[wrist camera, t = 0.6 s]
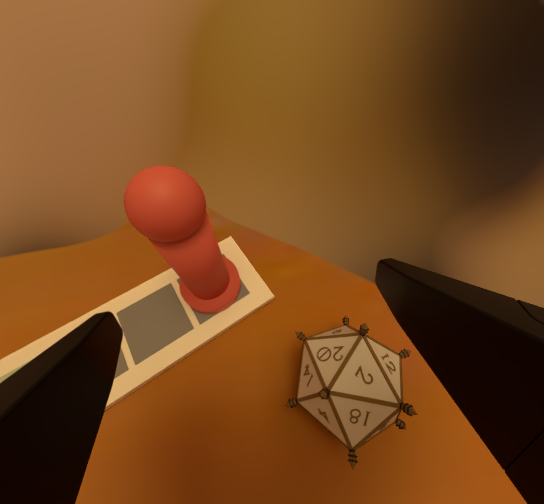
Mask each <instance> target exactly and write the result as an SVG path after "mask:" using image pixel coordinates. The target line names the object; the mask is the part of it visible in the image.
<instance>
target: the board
mask: <svg viewBox="0 0 544 504" xmlns="http://www.w3.org/2000/svg"><path fill="white" fill-rule="evenodd" d="M218 245H219V248H220V251H221V254H222V256H223V257H225V258H227V259H229V260H230V261H231V262H233V264H234V265H235V266H236V268H237V270H238V273H239V277H240V281H241V288H240V292H239V295H238V297H237V299H236V300H235V302H234V303H233V304H232V305H231V306H230V307H228V308H227V309H225V310H223V311H221V312H219V313H215V314H203V313H200V312H197V311H195V310H194V309H192V308H191V307H190V306H189V305H188V304H187V303H186V302H185V300H184V299H183V298H182V296H181V293H180V288H179V283H180V277H179V276H178V275H177V274H176V272H175V271H174V270H173V269H172V268H171V269H169V270H167V271H165V272H163V273H161V274H159V275H158V276H156V277H154V278H152V279H150V280H148V281H146V282H144V283H143V284H141V285H139V286H137V287H135V288H133V289H131V290H130V291H128V292H126V293H124V294H122V295H120V296H118V297H116V298H115V299H113V300H111V301H109V302H107V303H105V304H103V305H102V306H100V307H98V308H96V309H94V310H92V311H90V312H88V313H87V314H85V315H83V316H81V317H79V318H77V319H75V320H74V321H72V322H70V323H68V324H66V325H64V326H62V327H60V328H59V329H57V330H55V331H53V332H51V333H49V334H47V335H46V336H44V337H42V338H40V339H38V340H36V341H34V342H32V343H31V344H29V345H27V346H25V347H23V348H21V349H19V350H18V351H16V352H14V353H12V354H10V355H8V356H6V357H4V358H3V359H1V360H0V383H1V382H2V381H4V380H5V379H6V378H8V377H9V376H11V375H12V374H13V373H15V372H16V371H17V370H19V369H20V368H21V367H23V366H24V365H26V364H27V363H28V362H30V361H31V360H32V359H34V358H35V357H37V356H38V355H39V354H41V353H42V352H43V351H45V350H46V349H48V348H49V347H50V346H52V345H53V344H54V343H56V342H57V341H59V340H60V339H61V338H63V337H64V336H65V335H67V334H68V333H69V332H71V331H72V330H74V329H75V328H76V327H78V326H79V325H80V324H82V323H83V322H85V321H86V320H87V319H89V318H90V317H91V316H93V315H94V314H96V313H101V312H107V311H110V312H112V313H113V314H114V316H115V318H116V319H117V321H118V323H119V324H120V326H121V328H122V330H123V339H122V344H121V349H120V354H119V358H118V363H117V368H116V373H115V378H114V382H113V385H112V389H111V392H110V395H109V398H108V402H107V405H106V408H105V410H107V409H108V408H110V407H111V406H113V405H115V404H116V403H118V402H119V401H121V400H122V399H124V398H125V397H127V396H128V395H130V394H131V393H133V392H134V391H136V390H137V389H139V388H140V387H142V386H143V385H145V384H146V383H148V382H149V381H151V380H152V379H154V378H155V377H157V376H158V375H160V374H161V373H163V372H164V371H166V370H168V369H169V368H171V367H172V366H174V365H175V364H177V363H178V362H180V361H181V360H183V359H184V358H186V357H187V356H189V355H190V354H192V353H193V352H195V351H196V350H198V349H199V348H201V347H202V346H204V345H205V344H207V343H208V342H210V341H211V340H213V339H214V338H216V337H217V336H219V335H221V334H222V333H224V332H225V331H227V330H228V329H230V328H231V327H233V326H234V325H236V324H237V323H239V322H240V321H242V320H243V319H245V318H246V317H248V316H249V315H251V314H252V313H254V312H255V311H257V310H258V309H260V308H261V307H263V306H264V305H266V304H267V303H269V302H270V301H272V300H273V299H274V295H273V294H272V292H271V291H270V290H269V288H268V287H267V286H266V284H265V283H264V281H263V280H262V279H261V277H260V276H259V274H258V273H257V272H256V270H255V269H254V267H253V266H252V265H251V263H250V262H249V261H248V259H247V258H246V256H245V255H244V254H243V252H242V251H241V249H240V248H239V247H238V245H237V244H236V243H235V241H234V240H233V238H232V237H231V236H230V237H228V238H227V239H225V240H223V241H221V242H219V243H218Z"/></svg>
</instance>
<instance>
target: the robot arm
mask: <svg viewBox="0 0 544 504" xmlns="http://www.w3.org/2000/svg"><path fill="white" fill-rule="evenodd" d="M375 282H376V285H377V287H378V289H379V291H380V292H381V294H382V296H383V298H384V299H385V301H386V303H387V305H388V306H389V308H390V310H391V312H392V314H393V315H394V317H395V319H396V320H397V322H398V323H399V325H400V326H401V328H402V329H403V330H404V332H405V333H406V335H407V336H408V337H409V339H410V340H411V342H412V343H413V344H414V346H415V347H416V349H417V350H418V351H419V353H420V354H421V356H422V357H423V358H424V360H425V361H426V362H427V364H428V365H429V367H430V368H431V369H432V371H433V372H434V374H435V375H436V376H437V378H438V379H439V381H440V382H441V383H442V385H443V386H444V388H445V389H446V390H447V392H448V393H449V395H450V396H451V397H452V399H453V400H454V402H455V403H456V404H457V406H458V407H459V409H460V410H461V411H462V413H463V414H464V416H465V417H466V418H467V420H468V421H469V423H470V424H471V425H472V427H473V428H474V429H475V431H476V432H477V434H478V435H479V436H480V438H481V439H482V441H483V442H484V443H485V445H486V446H487V448H488V449H489V450H490V452H491V453H492V455H493V456H494V457H495V459H496V460H497V462H498V463H499V464H500V466H501V467H502V469H503V470H505V473H506V475H507V476H508V477H509V479H510V480H511V482H512V483H513V484H514V486H515V487H516V488H517V490H518V491H519V493H520V494H521V495H522V497H523V498H524V500H525V501H526V502H527V504H544V308H542V307H538V306H536V305H533V304H529V303H526V302H523V301H520V300H517V301H516V300H515V299H514V298H511V297H507V296H505V295H502V294H499V293H496V292H492V291H489V290H487V289H483V288H480V287H477V286H474V285H471V284H468V283H465V282H462V281H459V280H456V279H453V278H450V277H446V276H444V275H441V274H438V273H435V272H432V271H428V270H425V269H422V268H419V267H416V266H413V265H410V264H407V263H404V262H401V261H398V260H395V259H392V258H388V259H383V260H380V261H379V262H378V264H377V270H376V277H375ZM122 339H123V330H122V328H121V326H120V324H119V323H118V321H117V319H116V318H115V316H114V314H113V313H112V312H110V311H107V312H101V313H96V314H94V315H93V316H91V317H90V318H89V319H87V320H86V321H85V322H83V323H82V324H80V325H79V326H78V327H76V328H75V329H74V330H72V331H71V332H69V333H68V334H67V335H65V336H64V337H63V338H61V339H60V340H59V341H57V342H56V343H54V344H53V345H52V346H50V347H49V348H48V349H46V350H45V351H43V352H42V353H41V354H39V355H38V356H37V357H35V358H34V359H32V360H31V361H30V362H28V363H27V364H26V365H24V366H23V367H21V368H20V369H19V370H17V371H16V372H15V373H13V374H12V375H11V376H9V377H8V378H6V379H5V380H4V381H2V382H1V383H0V504H75V502H76V499H77V496H78V493H79V489H80V486H81V483H82V480H83V477H84V474H85V471H86V467H87V464H88V461H89V458H90V455H91V452H92V449H93V445H94V442H95V439H96V436H97V433H98V430H99V427H100V424H101V420H102V417H103V414H104V411H105V408H106V405H107V402H108V398H109V395H110V392H111V389H112V385H113V382H114V378H115V373H116V368H117V363H118V358H119V354H120V349H121V344H122Z"/></svg>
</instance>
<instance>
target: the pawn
mask: <svg viewBox="0 0 544 504" xmlns="http://www.w3.org/2000/svg"><path fill="white" fill-rule="evenodd" d="M124 208H125V212H126V214H127V217H128V219H129V221H130V222H131V224H132V225H133V226H134V227H135V228H136V229H137V230H138V231H139V232H140V233H142V234H143V235H144V236H146V237H148V239H149V240H150V241H151V242H152V244H153V245H154V246H155V247H156V249H157V250H158V251H159V252H160V254H161V255H162V256H163V257H164V259H165V260H166V261H167V262H168V264H169V265H170V266H171V267H172V269H173V270H174V271H175V272H176V274H177V275H178V276H179V277H180V283H179V288H180V293H181V296H182V298H183V299H184V300H185V302H186V303H187V304H188V305H189V306H190V307H191V308H192V309H194V310H195V311H197V312H200V313H203V314H215V313H219V312H221V311H223V310H225V309H227V308H228V307H230V306H231V305H232V304H233V303H234V302H235V300H236V299H237V297H238V295H239V292H240V288H241V281H240V277H239V273H238V270H237V268H236V266H235V265H234V264H233V262H231V261H230V260H229V259H227V258H225V257H223V256H222V254H221V251H220V248H219V245H218V243H217V240H216V237H215V234H214V232H213V229H212V226H211V223H210V220H209V218H208V215H207V212H206V201H205V197H204V194H203V191H202V189H201V188H200V186H199V185H198V183H197V182H196V181H195V180H194V179H193V178H192V177H191V176H190V175H189V174H187V173H186V172H184V171H182V170H180V169H178V168H175V167H171V166H152V167H149V168H146V169H144V170H142V171H140V172H139V173H137V174H136V175H135V176H134V177H133V178H132V179H131V180H130V182H129V183H128V185H127V188H126V190H125V194H124Z"/></svg>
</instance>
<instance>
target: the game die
mask: <svg viewBox="0 0 544 504" xmlns="http://www.w3.org/2000/svg"><path fill="white" fill-rule="evenodd" d="M342 320H343V323H344V325H343V326H340V327H337V328H334V329H331V330H328V331H325V332H322V333H319V334H316V335H313V336H310V337H307V338H306V337H305V336H304V335H305V334H303V333H302V332H297V331H295V332H296V334H297V338H299V339H300V340H302V341H303V349H302V357H301V365H300V373H299V381H298V389H297V397H296V399H293V398H292V399H291V400H290V399H289V401H288V403H287V404H286V406H288V407H291V408H292V407H293V406H295V405H296V404H299V405H301V406H302V407H303V408H304V409H305V410H306V411H307V412H308V413H309V414H311V415H312V416H313V417H314V418H315V419H316V420H317V421H318V422H319V423H321V424H322V425H323V426H324V427H325V428H326V429H327V430H328V431H329V432H331V433H332V434H333V435H334V436H335V437H336V438H337V439H338V440H339V441H341V442H342V443H343V444H344V445H345V446H346V447H347V448H348V449H349V454H348V456H349V460H348V461H349V463H350V465H351V467H352V470H353V469H354V467H355V465H356V463H358V461H357V460H356V457H357V456H356V454H355V450H356V449H358V448H359V447H361V446H362V445H363V444H365V443H366V442H368V441H369V440H371V439H372V438H373V437H375V436H376V435H378V434H379V433H381V432H382V431H383V430H385V429H386V428H388V427H389V426H391V425H392V424H393V423H396V426H398V427H399V429H406V426H405V423H404V422H403V421H401V419H398V416H399V414H400V412H401V410H403V412H404V413H407V415H410V416H412V415H418V414H417V413H416V411H415V410H414V409H413V406H412V405H408V403H407V404H404V403H403V384H402V363H401V358H406V357H409V355H410V352H411V351H409V350H405V349H404V350H403V351H402V350H401V352H400V353H397V352H395V351H393V350H392V349H390V348H388V347H387V346H385V345H383V344H381V343H380V342H378V341H376V340H375V339H373V338H371V337H369V336H368V335H366V333H368V330H369V329H368V327H367V325H366V323H365V324H363V325H361V326H360V330H357V329H355V328H353V327H351V326H349V325H348V324H349V319H348V318H347V316H345V317H344V319H342Z"/></svg>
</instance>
